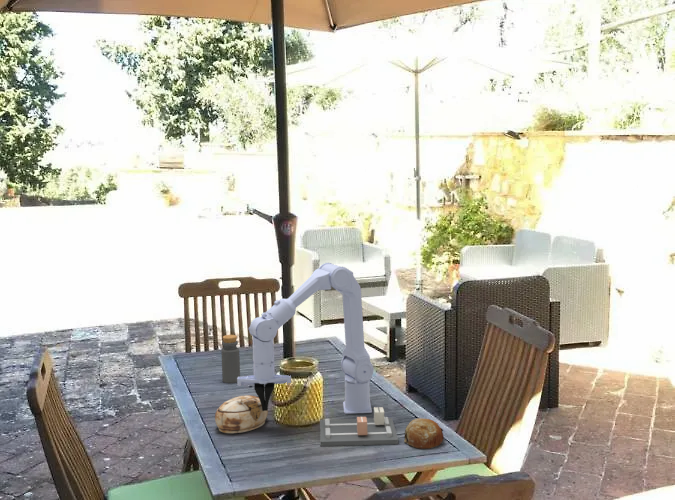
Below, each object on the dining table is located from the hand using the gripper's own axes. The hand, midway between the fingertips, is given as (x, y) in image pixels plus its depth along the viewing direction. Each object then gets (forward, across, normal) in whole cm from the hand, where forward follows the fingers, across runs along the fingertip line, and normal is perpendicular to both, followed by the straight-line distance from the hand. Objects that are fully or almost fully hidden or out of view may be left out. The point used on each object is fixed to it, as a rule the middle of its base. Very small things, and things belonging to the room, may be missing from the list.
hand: (265, 409), depth 211 cm
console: (+5, +25, -7) cm, 26 cm away
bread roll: (+5, +42, -14) cm, 44 cm away
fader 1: (+3, +26, -10) cm, 28 cm away
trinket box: (+5, -7, +2) cm, 9 cm away
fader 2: (+3, +31, -4) cm, 31 cm away
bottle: (+5, -14, +43) cm, 46 cm away
